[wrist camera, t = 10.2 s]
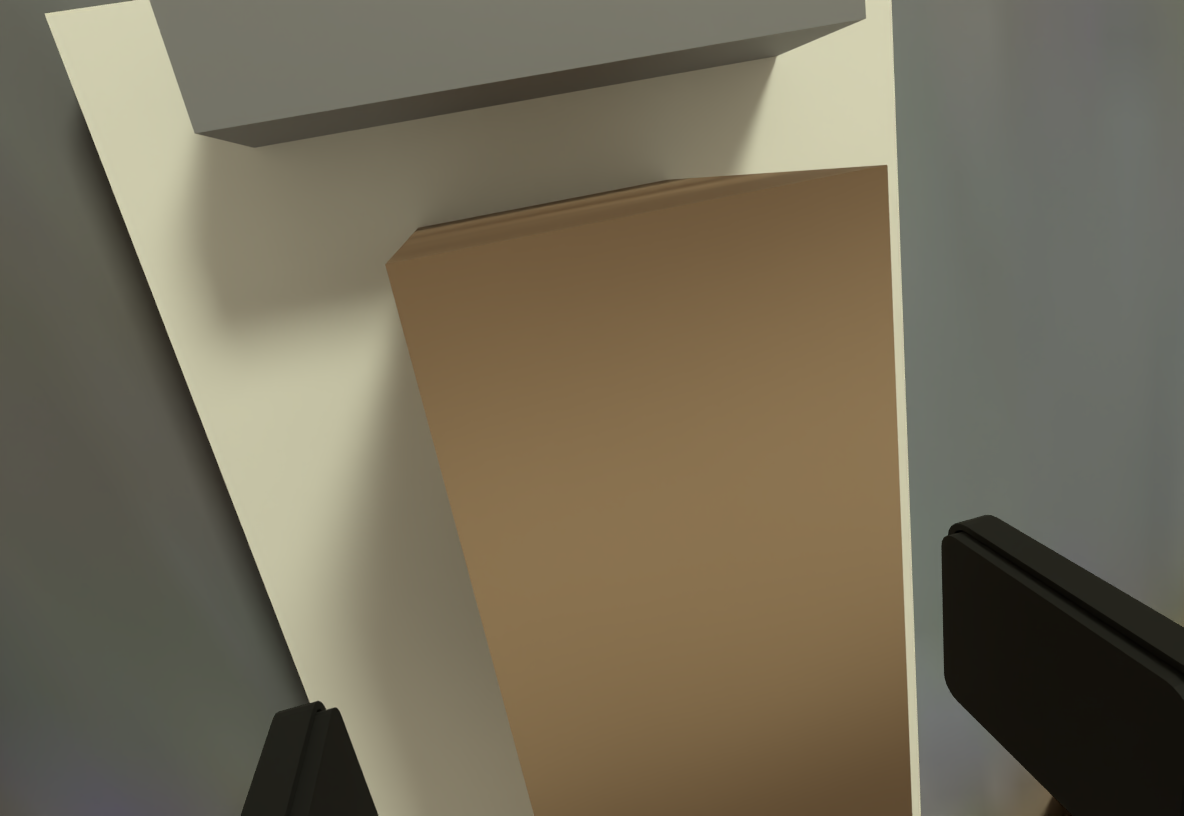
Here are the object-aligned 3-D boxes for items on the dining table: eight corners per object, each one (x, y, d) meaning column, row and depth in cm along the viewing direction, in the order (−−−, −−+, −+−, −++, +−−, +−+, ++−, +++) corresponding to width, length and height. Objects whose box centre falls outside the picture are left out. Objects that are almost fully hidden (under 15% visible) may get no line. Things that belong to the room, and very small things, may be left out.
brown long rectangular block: (418, 228, 11) (385, 264, 5) (666, 179, 11) (886, 164, 6) (582, 881, 15) (661, 1286, 10) (754, 825, 16) (925, 1178, 10)
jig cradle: (443, 990, 17) (441, 1195, 13) (89, 33, 10) (-96, -50, 7) (894, 838, 18) (997, 987, 15) (845, -80, 12) (1011, -196, 8)
